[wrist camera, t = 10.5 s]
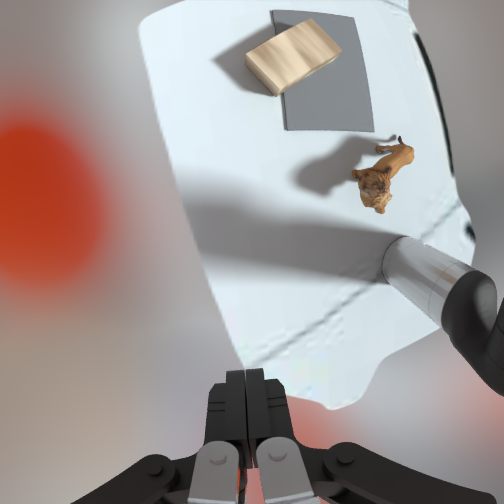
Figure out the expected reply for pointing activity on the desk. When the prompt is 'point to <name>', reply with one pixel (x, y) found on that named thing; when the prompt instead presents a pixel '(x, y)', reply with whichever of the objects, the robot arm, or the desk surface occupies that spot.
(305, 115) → the slate mat
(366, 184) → the lion figurine
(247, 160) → the desk surface
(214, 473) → the robot arm
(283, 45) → the birch block
